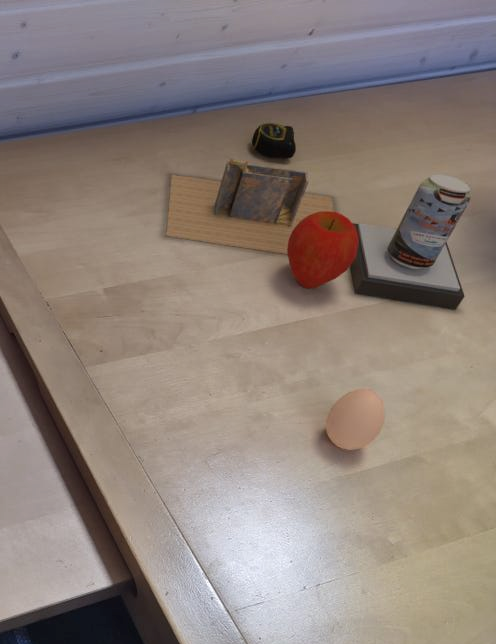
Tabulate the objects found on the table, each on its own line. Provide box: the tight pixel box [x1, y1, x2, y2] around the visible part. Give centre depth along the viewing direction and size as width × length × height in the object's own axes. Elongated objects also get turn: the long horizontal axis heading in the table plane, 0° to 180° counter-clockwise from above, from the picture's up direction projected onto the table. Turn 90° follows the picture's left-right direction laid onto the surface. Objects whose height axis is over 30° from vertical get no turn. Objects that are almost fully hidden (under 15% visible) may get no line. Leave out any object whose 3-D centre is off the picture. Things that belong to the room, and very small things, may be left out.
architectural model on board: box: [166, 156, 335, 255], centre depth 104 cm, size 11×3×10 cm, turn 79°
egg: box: [325, 388, 386, 451], centre depth 76 cm, size 5×5×8 cm
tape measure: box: [251, 122, 297, 159], centre depth 119 cm, size 7×7×4 cm
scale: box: [350, 222, 466, 310], centre depth 99 cm, size 13×13×3 cm
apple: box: [287, 211, 359, 290], centre depth 93 cm, size 9×8×11 cm
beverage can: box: [387, 172, 472, 269], centre depth 92 cm, size 6×7×12 cm
